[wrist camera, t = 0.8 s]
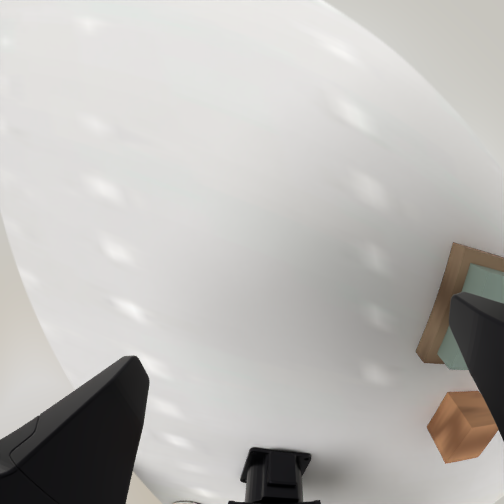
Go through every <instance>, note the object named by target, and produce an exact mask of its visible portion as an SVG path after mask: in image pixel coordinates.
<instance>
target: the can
mask: <svg viewBox="0 0 504 504" xmlns="http://www.w3.org/2000/svg"><path fill="white" fill-rule="evenodd" d="M174 504H199V503H195V502H190V501H179V502H176V503H174Z"/></svg>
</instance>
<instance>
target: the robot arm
mask: <svg viewBox="0 0 504 504" xmlns="http://www.w3.org/2000/svg"><path fill="white" fill-rule="evenodd" d="M449 326H450V329H451V331H452V333H453V336H454V338H455V340H456V342H457V345H458V347H459V349H460V351H461V354H462V356H463V358H464V361H465V363H466V365H467V368H468V370H469V372H470V374H471V376H472V377H473V379H474V381H475V383H476V385H477V387H478V389H479V391H480V392H481V394H482V396H483V398H484V400H485V402H486V404H487V406H488V408H489V410H490V412H491V414H492V417H493V419H494V421H495V423H496V425H497V427H498V429H499V432H500V434H501V436H502V438H503V441H504V303H500V302H497V301H494V300H491V299H487V298H484V297H481V296H478V295H474V294H471V293H468V292H460V293H457V294H454V295H453V296H452V297H451V301H450V312H449ZM148 390H149V377H148V375H147V373H146V371H145V369H144V367H143V366H142V364H141V362H140V360H139V358H138V357H136V356H124V357H122V358H121V359H119V360H118V361H116V362H115V363H113V364H112V365H111V366H109V367H108V368H106V369H105V370H103V371H102V372H101V373H99V374H98V375H96V376H95V377H93V378H92V379H91V380H89V381H88V382H86V383H85V384H83V385H82V386H80V387H79V388H78V389H76V390H75V391H73V392H72V393H70V394H69V395H68V396H66V397H65V398H63V399H62V400H60V401H59V402H57V403H56V404H55V405H53V406H52V407H50V408H49V409H47V410H46V411H44V412H43V413H41V414H40V416H37V417H36V418H34V419H33V420H31V421H30V422H28V423H27V424H25V425H24V426H22V427H21V428H19V429H17V430H16V431H14V432H12V433H11V434H9V435H8V436H6V437H4V438H2V439H1V440H0V504H126V499H127V494H128V490H129V485H130V480H131V476H132V471H133V467H134V462H135V458H136V454H137V450H138V445H139V441H140V437H141V433H142V429H143V424H144V417H145V410H146V403H147V396H148ZM310 461H311V455H310V454H303V453H291V452H281V451H272V450H264V449H257V448H252V449H250V450H249V453H248V456H247V459H246V462H245V465H244V468H243V471H242V475H241V478H240V481H241V482H244V483H247V484H246V494H245V502H235V501H229V502H228V504H321V502H320V500H315V501H311V502H303V491H302V475H303V473H304V472H305V470H306V468H307V466H308V464H309V462H310Z"/></svg>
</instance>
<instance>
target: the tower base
mask: <svg viewBox="0 0 504 504" xmlns="http://www.w3.org/2000/svg"><path fill="white" fill-rule="evenodd" d="M470 263H472V264H476V265H480V266H484V267H487V268H491V269H495V270H498V271H502V272H504V258H503V257H500V256H497V255H494V254H490V253H487V252H484V251H481V250H477V249H474V248H471V247H467V246H464V245H461V244H457V243H454V242H453V245H452V248H451V252H450V256H449V259H448V263H447V266H446V270H445V273H444V276H443V279H442V282H441V286H440V289H439V292H438V295H437V298H436V300H435V303H434V306H433V309H432V312H431V314H430V317H429V320H428V322H427V325H426V328H425V330H424V333H423V335H422V338H421V340H420V342H419V345H418V347H417V350H416V353H417V354H418V356H419V357H420V358H421V360H422V361H423V362H424V363H434V364H445V363H444V362H443V361H442V359H441V358H440V357H439V356H438V355H437V353H438V350H439V348H440V346H441V344H442V341H443V339H444V337H445V334H446V332H447V329H448V327H449V312H450V301H451V297H452V296H453V295H454V294H457V293H460V292H461V291H462V289H463V285H464V282H465V279H466V276H467V273H468V270H469V266H470Z"/></svg>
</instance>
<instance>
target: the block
mask: <svg viewBox="0 0 504 504" xmlns="http://www.w3.org/2000/svg"><path fill="white" fill-rule="evenodd" d="M427 429H428V431H429V433H430V434H431V436H432V438H433V440H434V442H435V444H436V446H437V448H438V450H439V452H440V454H441V456H442V458H443V460H444V462H445V464H446V463H451V462H457V461H462V460H467V459H471V458H476V457H478V456H479V455H480V454H481V453H482V451H483V450H484V449H485V447H486V446H487V445H488V443H489V442H490V441H491V439H492V438H493V437H494V435H495V434H496V432H497V431H498V427H497V425H496V423H495V421H494V419H493V417H492V414H491V412H490V410H489V408H488V406H487V404H486V402H485V400H484V398H483V396H482V395H481V394H480V392H479V391H468V392H447V394H446V396H445V397H444V399H443V401H442V403H441V404H440V406H439V408H438V409H437V411H436V413H435V414H434V416H433V418H432V419H431V421H430V422H429V424H428V426H427Z"/></svg>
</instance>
